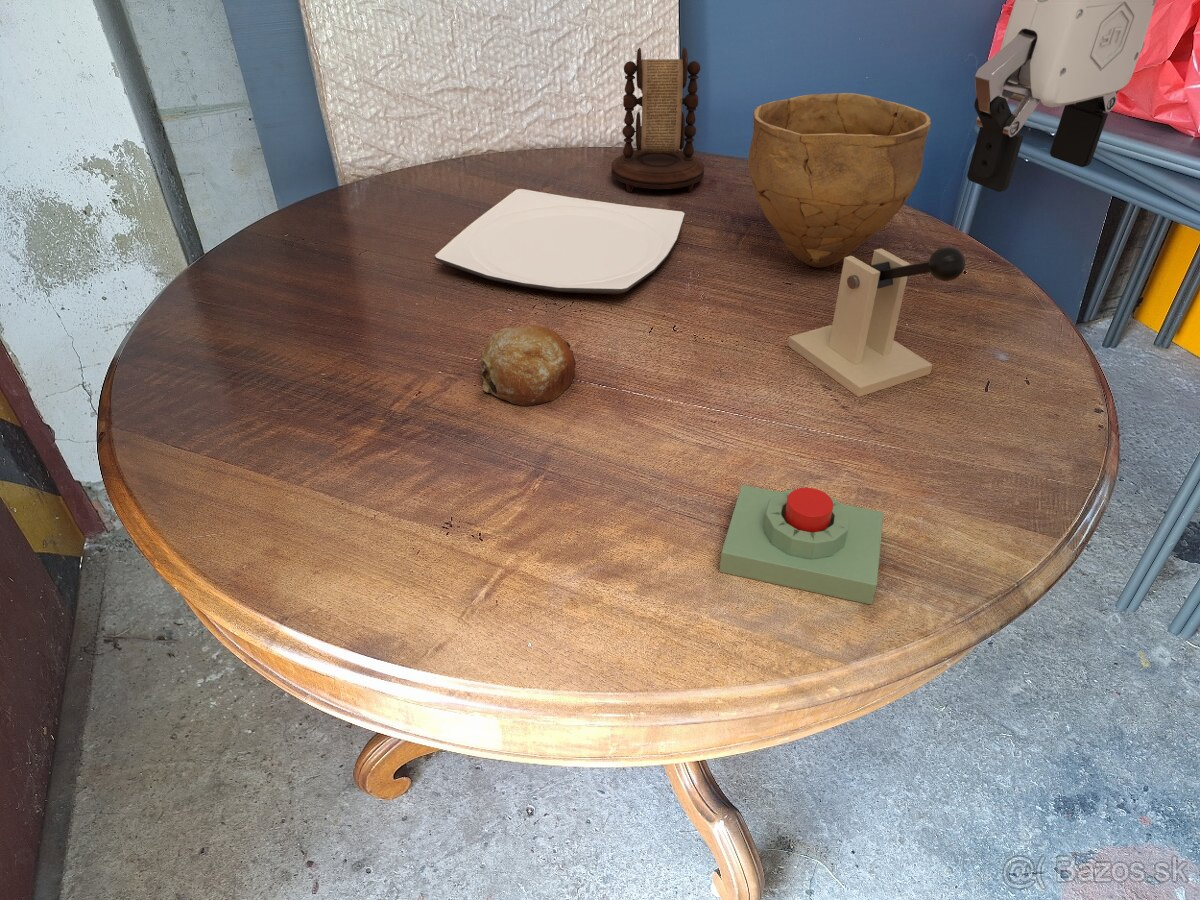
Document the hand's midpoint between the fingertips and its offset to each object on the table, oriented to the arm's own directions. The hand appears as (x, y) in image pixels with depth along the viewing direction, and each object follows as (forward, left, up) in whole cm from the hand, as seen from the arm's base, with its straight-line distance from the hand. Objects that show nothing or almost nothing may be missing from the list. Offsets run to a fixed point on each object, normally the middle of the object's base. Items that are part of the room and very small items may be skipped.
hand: (1028, 172), depth 67 cm
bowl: (+16, -40, -28) cm, 51 cm away
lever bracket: (+9, -17, -28) cm, 34 cm away
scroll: (+44, -64, -28) cm, 83 cm away
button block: (+11, +16, -28) cm, 34 cm away
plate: (+49, -34, -28) cm, 66 cm away
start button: (+11, +16, -24) cm, 31 cm away
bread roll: (+42, -2, -28) cm, 51 cm away
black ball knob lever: (+6, -13, -16) cm, 22 cm away
